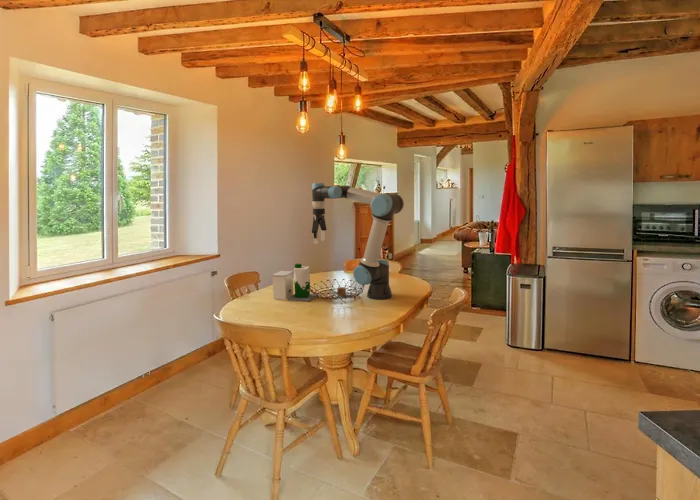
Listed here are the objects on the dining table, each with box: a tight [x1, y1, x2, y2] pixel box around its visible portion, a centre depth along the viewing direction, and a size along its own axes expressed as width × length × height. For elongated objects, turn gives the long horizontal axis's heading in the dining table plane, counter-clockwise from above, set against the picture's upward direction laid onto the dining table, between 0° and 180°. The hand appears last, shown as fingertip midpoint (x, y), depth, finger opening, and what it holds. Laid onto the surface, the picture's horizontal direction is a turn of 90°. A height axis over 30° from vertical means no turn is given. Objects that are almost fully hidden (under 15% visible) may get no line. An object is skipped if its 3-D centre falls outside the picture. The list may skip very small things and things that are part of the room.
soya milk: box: [293, 263, 311, 298], centre depth 266 cm, size 9×9×20 cm
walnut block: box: [336, 286, 347, 298], centre depth 271 cm, size 5×5×5 cm
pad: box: [286, 293, 318, 303], centre depth 268 cm, size 14×14×1 cm
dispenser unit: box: [271, 270, 295, 301], centre depth 270 cm, size 9×13×15 cm
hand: (319, 242), depth 274 cm, fingers open, 13 cm apart
